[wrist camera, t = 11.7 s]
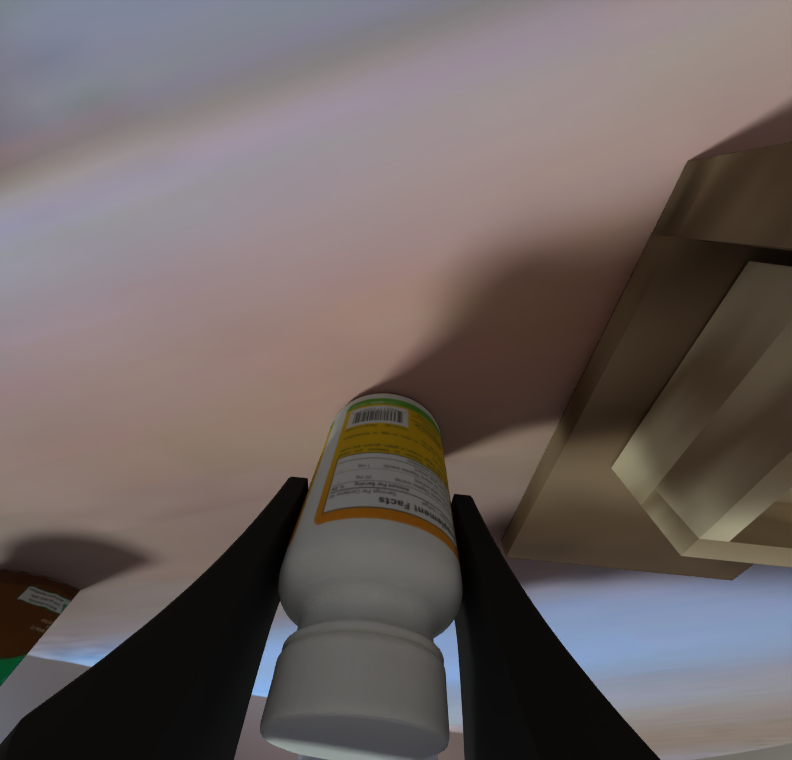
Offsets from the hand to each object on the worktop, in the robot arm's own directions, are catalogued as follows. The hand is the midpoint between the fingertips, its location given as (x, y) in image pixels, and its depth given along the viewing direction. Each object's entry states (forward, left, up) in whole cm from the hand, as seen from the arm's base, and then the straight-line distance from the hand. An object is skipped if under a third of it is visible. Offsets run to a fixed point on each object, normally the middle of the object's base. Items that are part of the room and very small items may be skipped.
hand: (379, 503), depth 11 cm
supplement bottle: (0, 0, -4) cm, 4 cm away
